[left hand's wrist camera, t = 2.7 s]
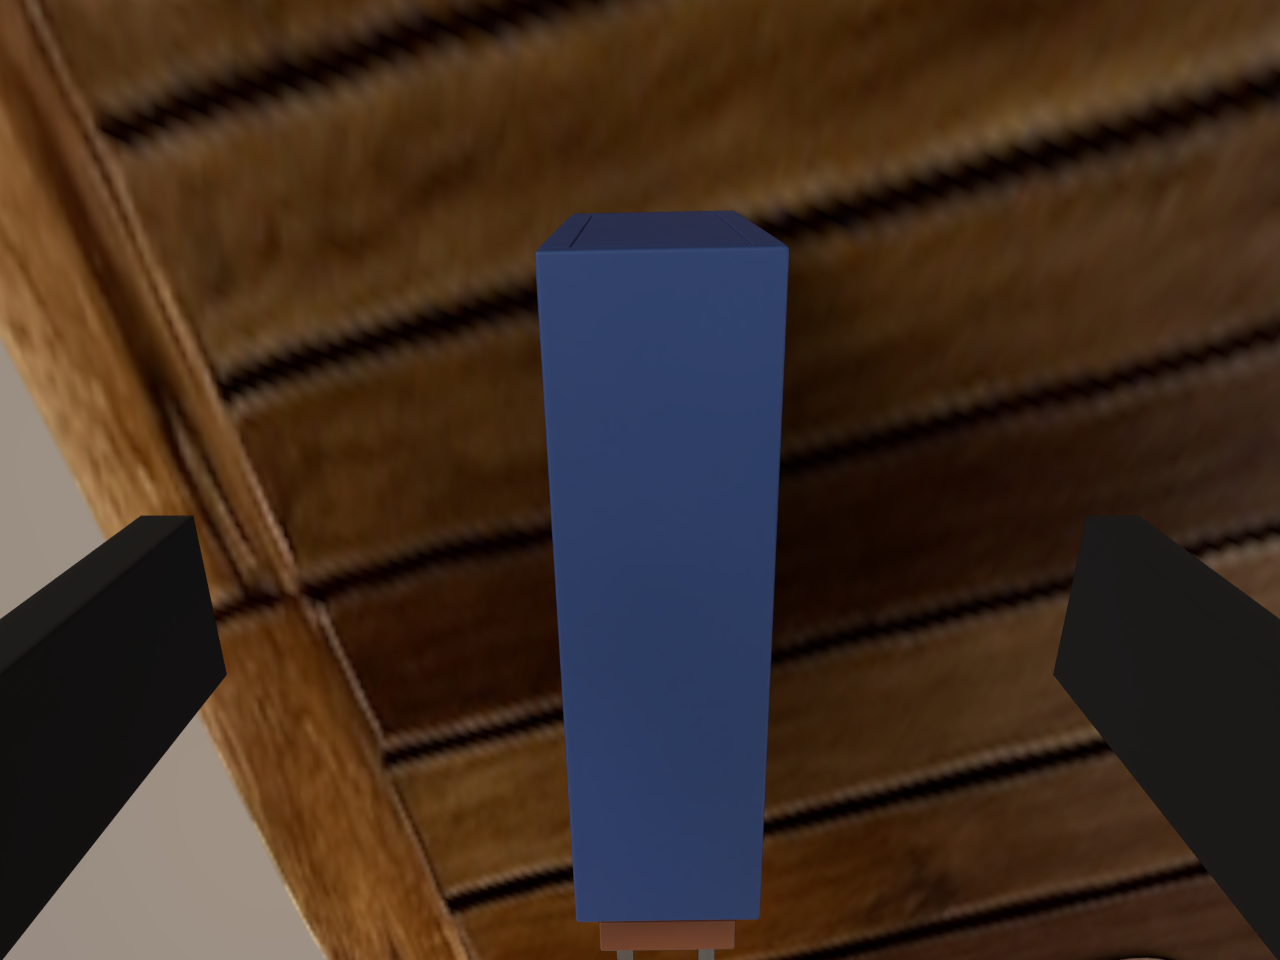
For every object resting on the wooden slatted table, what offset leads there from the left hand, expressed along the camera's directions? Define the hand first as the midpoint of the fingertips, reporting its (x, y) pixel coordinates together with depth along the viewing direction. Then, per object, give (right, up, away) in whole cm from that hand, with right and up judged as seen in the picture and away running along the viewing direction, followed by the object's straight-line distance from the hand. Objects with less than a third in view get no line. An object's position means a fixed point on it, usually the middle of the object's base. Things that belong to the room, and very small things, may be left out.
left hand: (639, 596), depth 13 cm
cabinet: (+1, +2, +19) cm, 19 cm away
